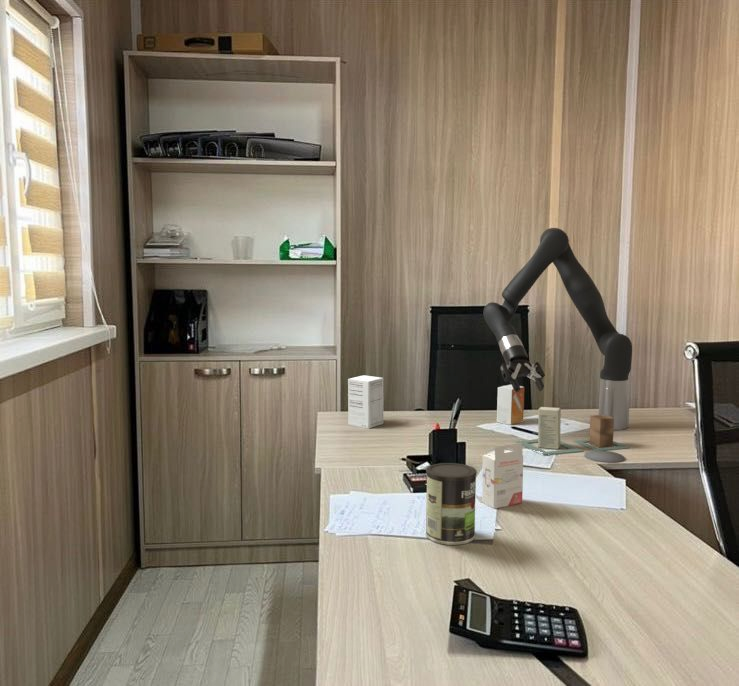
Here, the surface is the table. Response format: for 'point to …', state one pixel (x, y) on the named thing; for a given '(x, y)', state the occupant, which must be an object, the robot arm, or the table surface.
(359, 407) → the supplement box
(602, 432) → the walnut block
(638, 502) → the table surface
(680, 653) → the table surface
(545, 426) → the skincare box
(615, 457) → the felt coaster
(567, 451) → the frame
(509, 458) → the ink cartridge box
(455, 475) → the coffee can
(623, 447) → the frame
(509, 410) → the small box
